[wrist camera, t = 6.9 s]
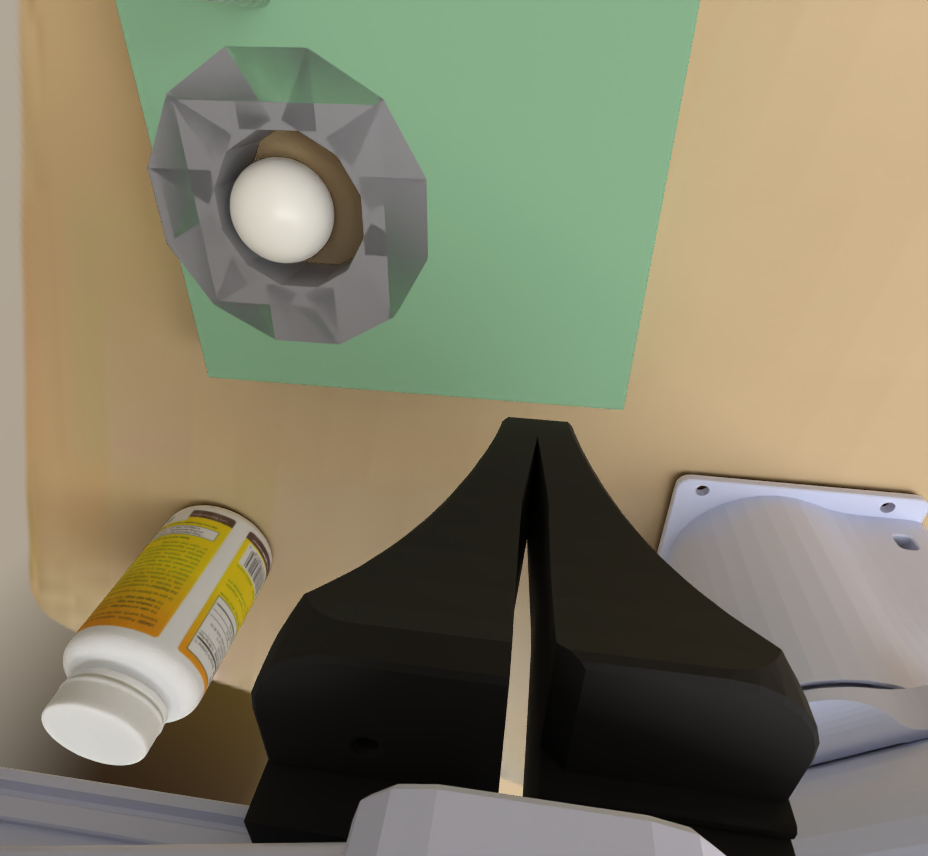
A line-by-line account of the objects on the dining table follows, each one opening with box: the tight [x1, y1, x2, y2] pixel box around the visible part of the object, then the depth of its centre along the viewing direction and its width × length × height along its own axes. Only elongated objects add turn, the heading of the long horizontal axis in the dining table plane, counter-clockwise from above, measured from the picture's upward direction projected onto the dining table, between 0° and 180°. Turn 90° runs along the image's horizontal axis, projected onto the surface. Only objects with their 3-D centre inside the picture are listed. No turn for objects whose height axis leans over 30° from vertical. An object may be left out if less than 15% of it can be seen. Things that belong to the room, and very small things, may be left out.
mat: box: [115, 0, 700, 410], centre depth 19 cm, size 15×12×2 cm
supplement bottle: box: [42, 505, 272, 765], centre depth 26 cm, size 6×6×10 cm
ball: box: [230, 157, 334, 263], centre depth 19 cm, size 3×3×3 cm
